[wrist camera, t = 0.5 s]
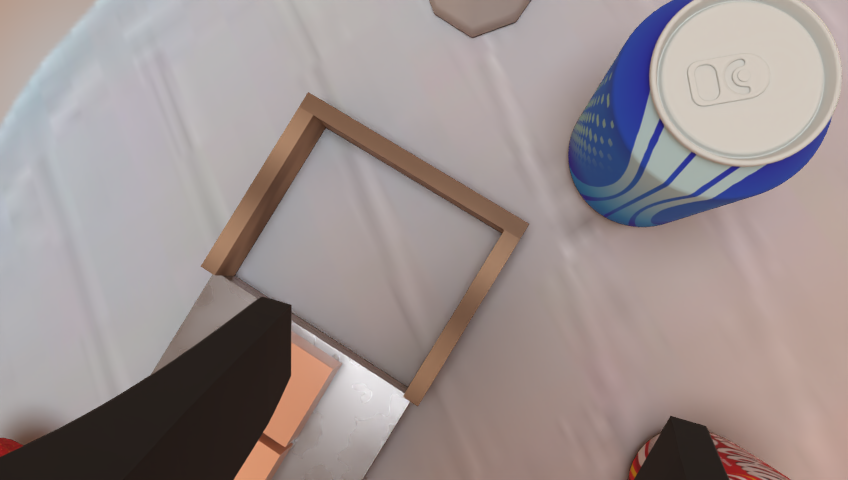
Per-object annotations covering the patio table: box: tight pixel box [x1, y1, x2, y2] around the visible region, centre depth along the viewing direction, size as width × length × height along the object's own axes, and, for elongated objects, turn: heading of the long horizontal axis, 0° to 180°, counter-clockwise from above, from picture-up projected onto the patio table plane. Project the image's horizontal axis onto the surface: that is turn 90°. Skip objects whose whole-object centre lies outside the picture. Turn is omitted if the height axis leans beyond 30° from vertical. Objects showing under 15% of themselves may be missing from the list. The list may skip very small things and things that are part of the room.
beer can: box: [568, 0, 842, 227], centre depth 31 cm, size 8×8×16 cm
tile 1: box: [263, 331, 342, 447], centre depth 36 cm, size 5×5×2 cm
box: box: [201, 92, 529, 406], centre depth 38 cm, size 12×15×3 cm
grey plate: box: [151, 275, 410, 480], centre depth 38 cm, size 12×14×2 cm
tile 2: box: [234, 433, 293, 480], centre depth 36 cm, size 5×5×2 cm
